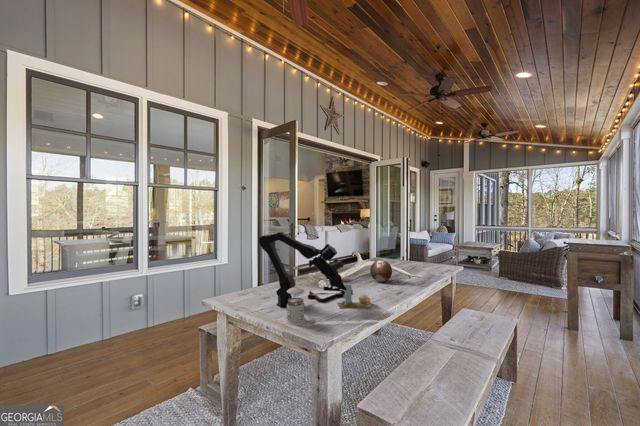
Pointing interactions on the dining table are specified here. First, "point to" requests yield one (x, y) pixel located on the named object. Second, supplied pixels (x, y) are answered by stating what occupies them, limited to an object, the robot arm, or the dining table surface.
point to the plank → (348, 293)
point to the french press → (295, 311)
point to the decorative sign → (326, 293)
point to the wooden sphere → (381, 271)
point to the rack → (357, 303)
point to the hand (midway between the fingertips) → (344, 287)
